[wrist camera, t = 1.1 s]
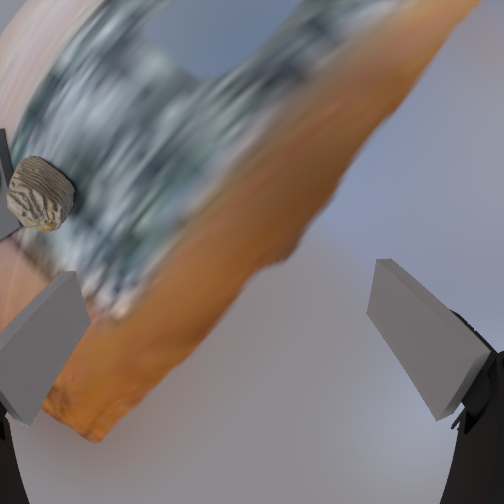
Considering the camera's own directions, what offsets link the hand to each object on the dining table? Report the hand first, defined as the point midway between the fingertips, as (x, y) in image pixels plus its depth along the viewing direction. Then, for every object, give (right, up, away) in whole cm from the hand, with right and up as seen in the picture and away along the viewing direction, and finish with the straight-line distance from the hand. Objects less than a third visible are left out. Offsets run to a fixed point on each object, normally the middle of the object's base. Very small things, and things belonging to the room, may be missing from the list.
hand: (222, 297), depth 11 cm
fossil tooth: (-29, +12, +22) cm, 38 cm away
